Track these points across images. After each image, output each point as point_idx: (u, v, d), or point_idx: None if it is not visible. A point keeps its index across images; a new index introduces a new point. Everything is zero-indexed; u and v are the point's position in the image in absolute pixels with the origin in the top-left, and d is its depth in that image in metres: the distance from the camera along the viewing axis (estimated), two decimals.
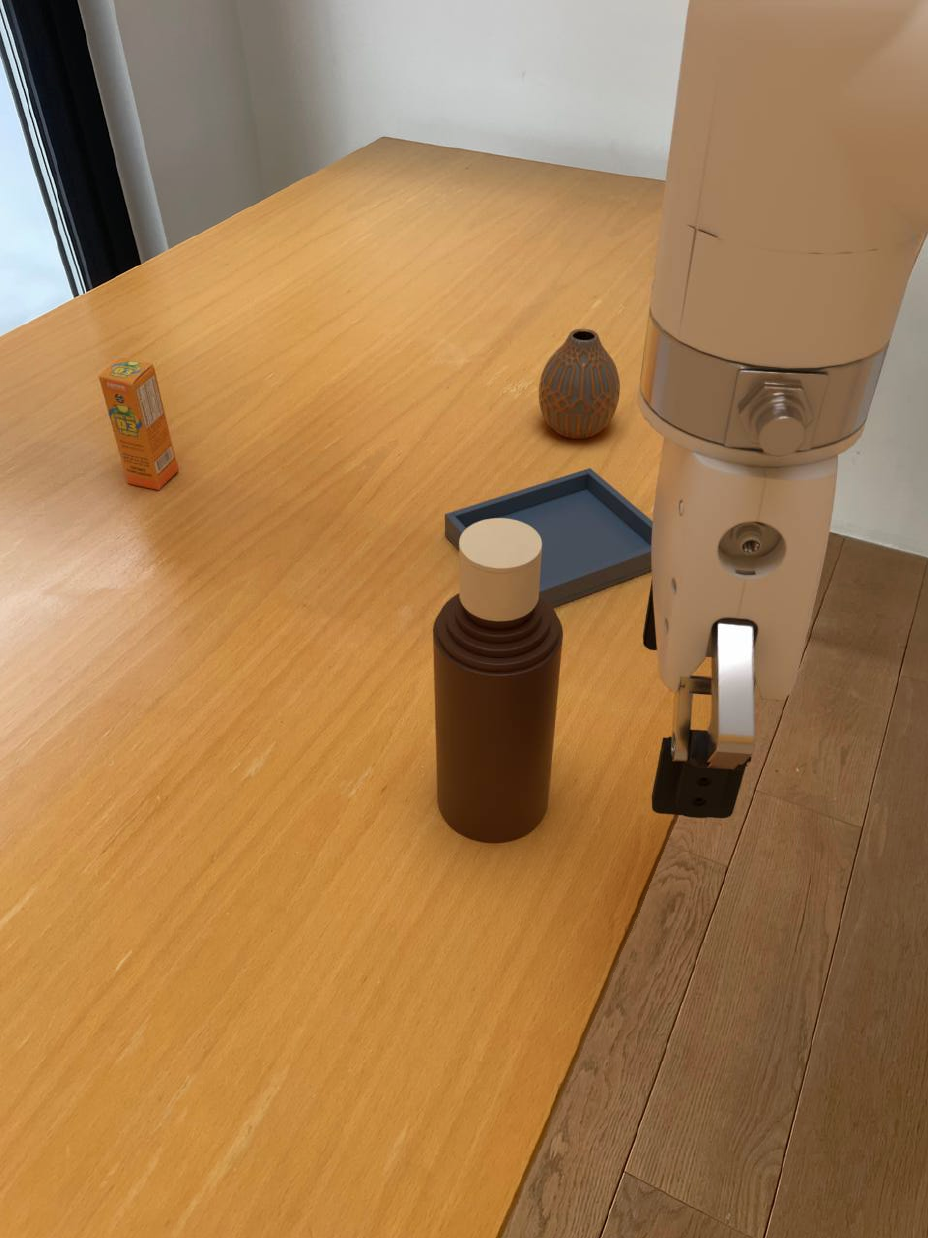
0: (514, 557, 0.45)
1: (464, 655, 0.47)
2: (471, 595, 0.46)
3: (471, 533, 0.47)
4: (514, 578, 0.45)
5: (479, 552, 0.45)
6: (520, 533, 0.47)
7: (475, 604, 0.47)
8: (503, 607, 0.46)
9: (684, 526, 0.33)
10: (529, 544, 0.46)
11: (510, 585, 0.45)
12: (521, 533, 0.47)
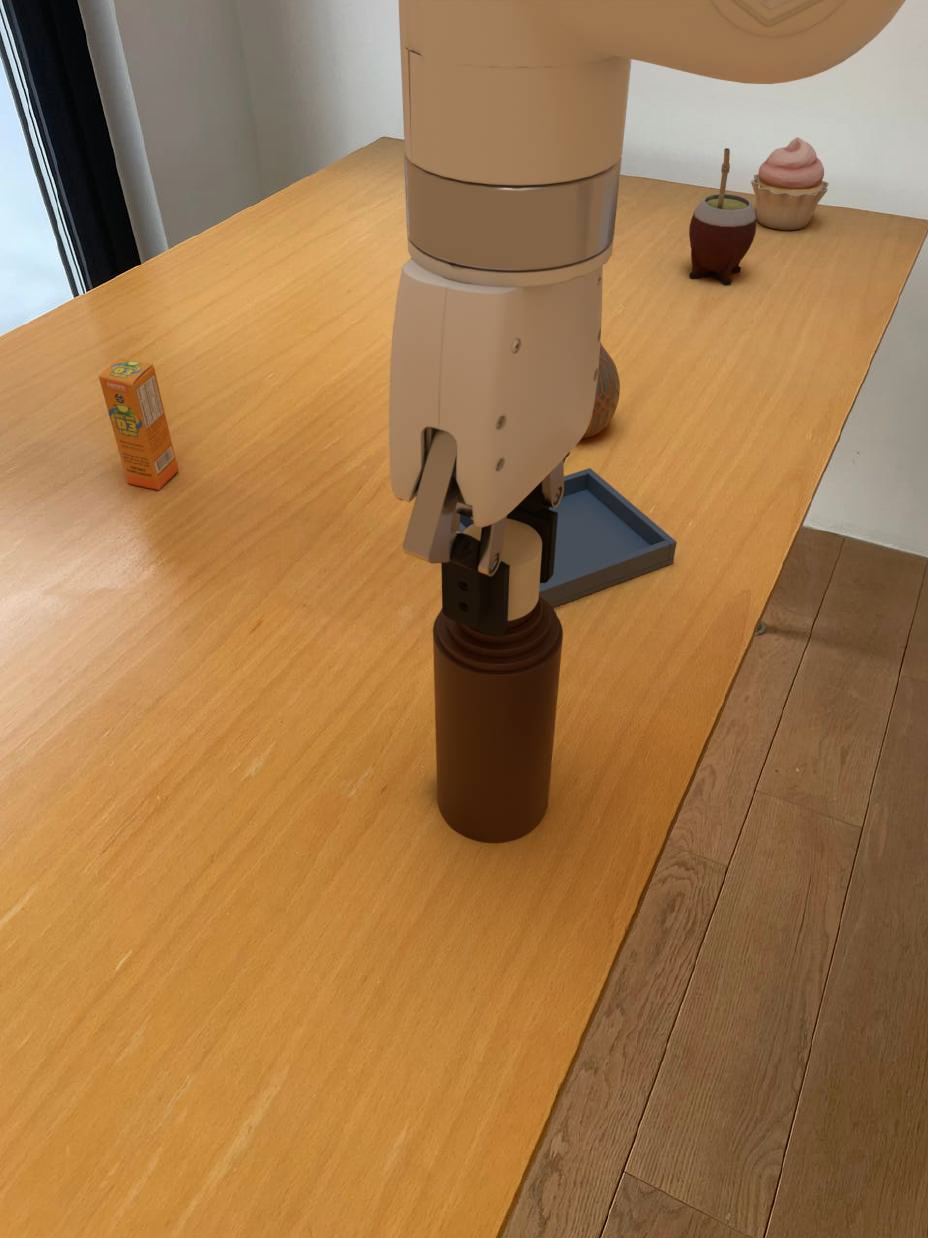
0: (514, 557, 0.45)
1: (464, 655, 0.47)
2: None
3: (471, 533, 0.47)
4: (514, 578, 0.45)
5: None
6: (520, 533, 0.47)
7: None
8: None
9: (601, 281, 0.40)
10: (529, 544, 0.46)
11: (510, 585, 0.45)
12: (521, 533, 0.47)
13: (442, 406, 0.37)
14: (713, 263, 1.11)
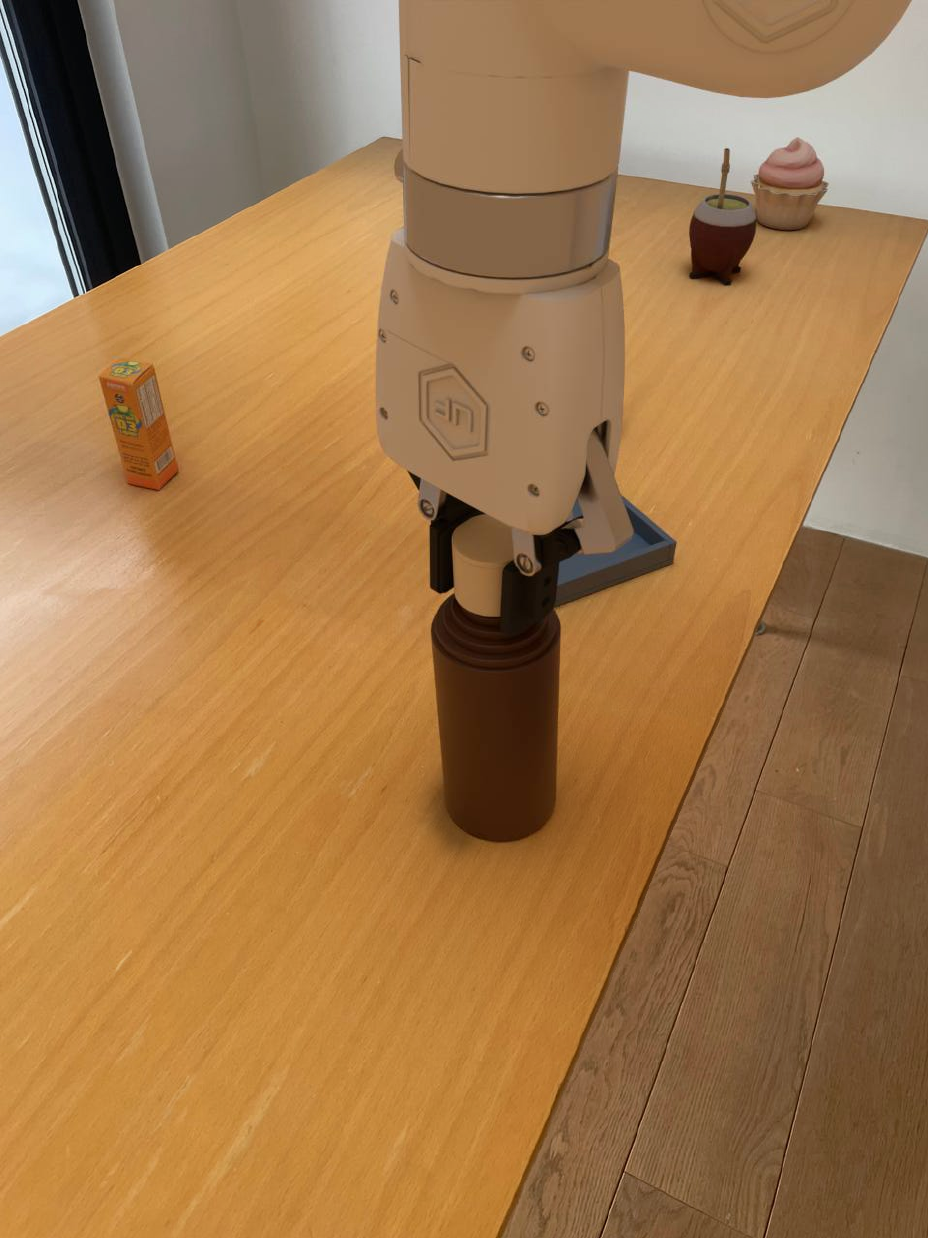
0: None
1: (461, 653, 0.48)
2: None
3: (472, 553, 0.45)
4: None
5: (506, 551, 0.45)
6: (482, 524, 0.47)
7: None
8: None
9: None
10: None
11: None
12: (483, 523, 0.47)
13: (604, 399, 0.38)
14: (713, 263, 1.11)
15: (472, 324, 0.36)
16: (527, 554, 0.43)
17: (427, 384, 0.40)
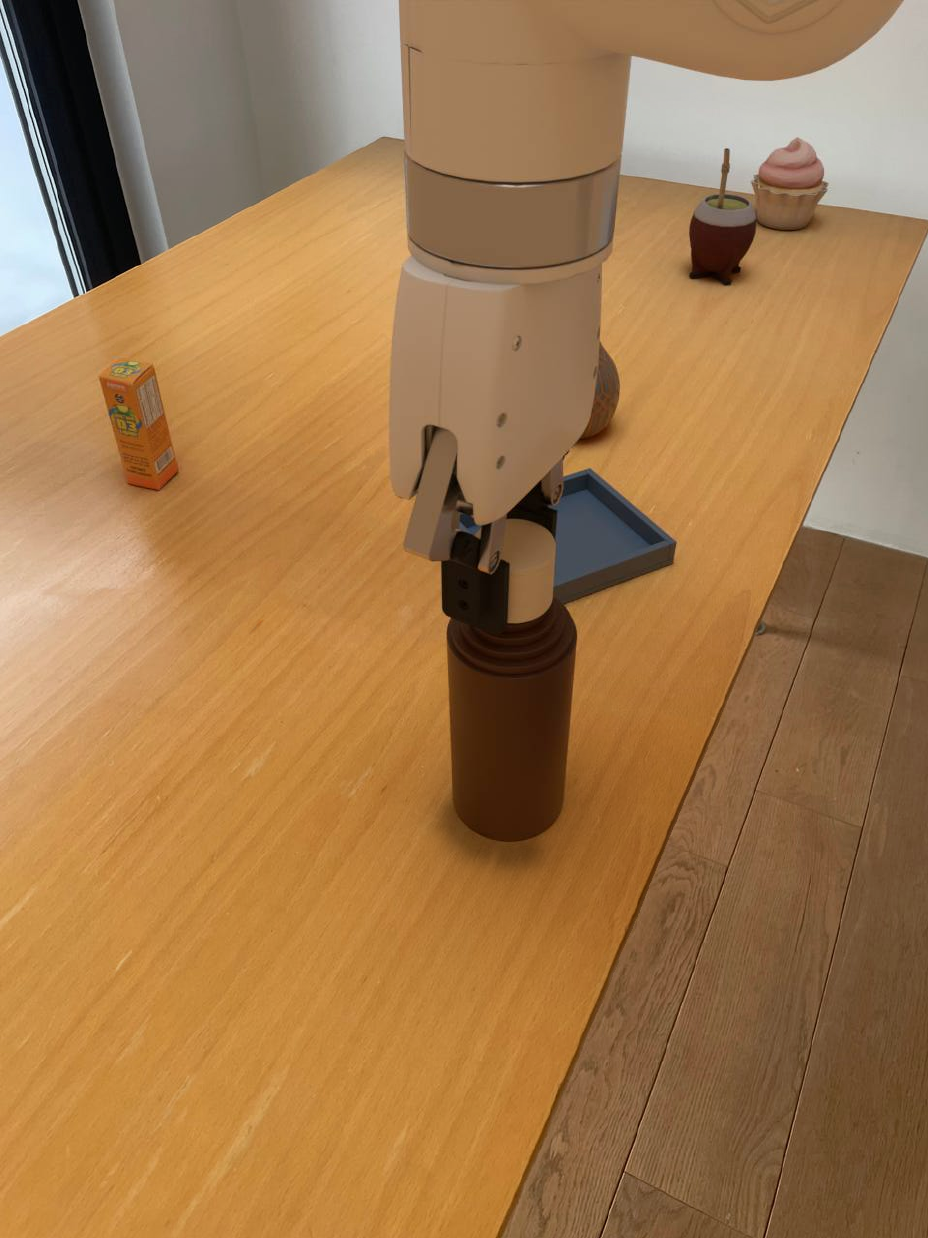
0: (540, 538, 0.46)
1: (478, 659, 0.47)
2: (536, 600, 0.46)
3: None
4: None
5: (527, 559, 0.45)
6: None
7: (540, 605, 0.46)
8: None
9: (600, 279, 0.40)
10: (522, 526, 0.47)
11: (554, 560, 0.46)
12: None
13: (443, 404, 0.37)
14: (713, 263, 1.11)
15: None
16: None
17: None
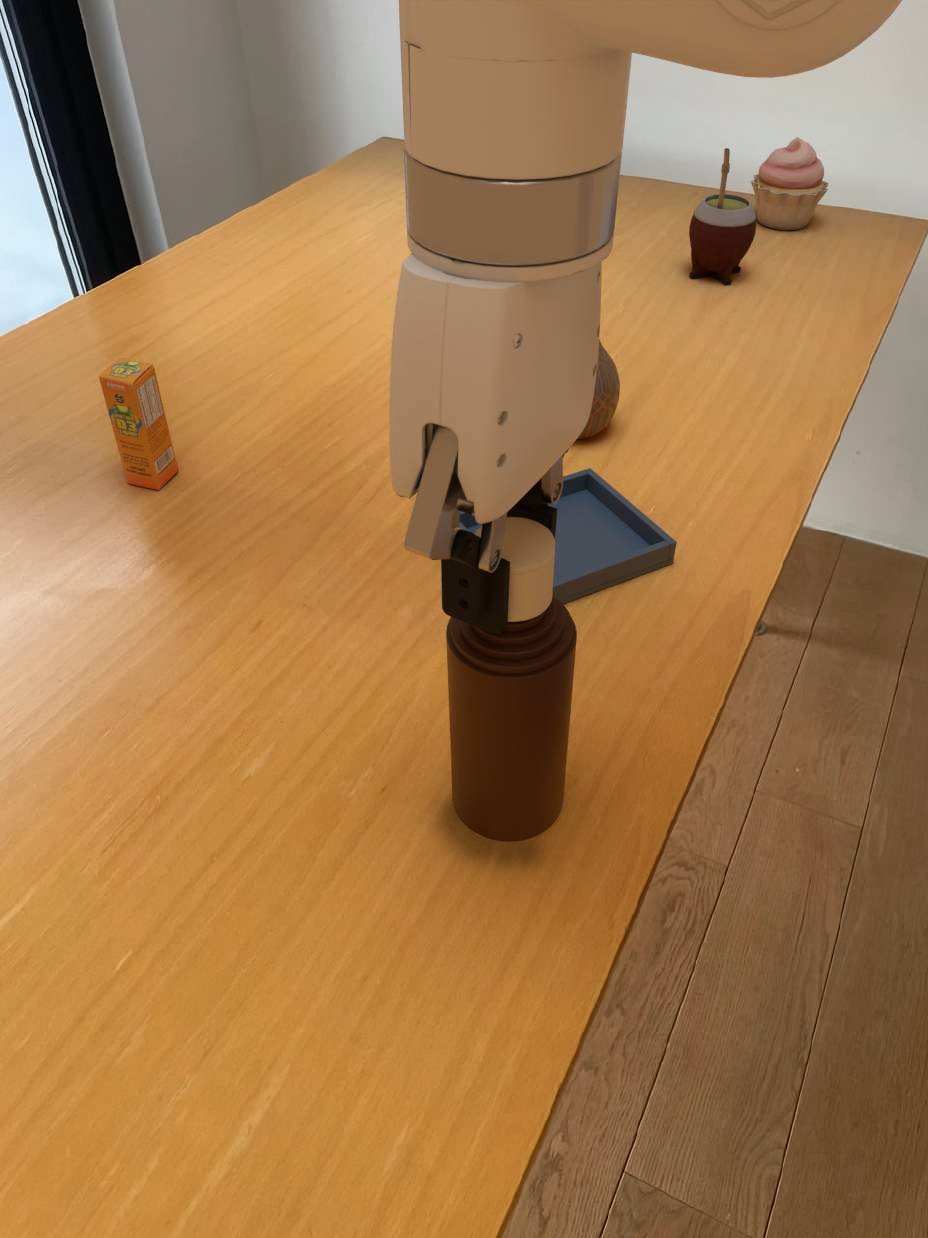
0: (510, 524, 0.47)
1: (478, 658, 0.47)
2: None
3: (535, 558, 0.45)
4: None
5: (539, 537, 0.46)
6: None
7: None
8: None
9: (600, 276, 0.40)
10: None
11: None
12: None
13: (443, 402, 0.36)
14: (713, 263, 1.11)
15: None
16: None
17: None
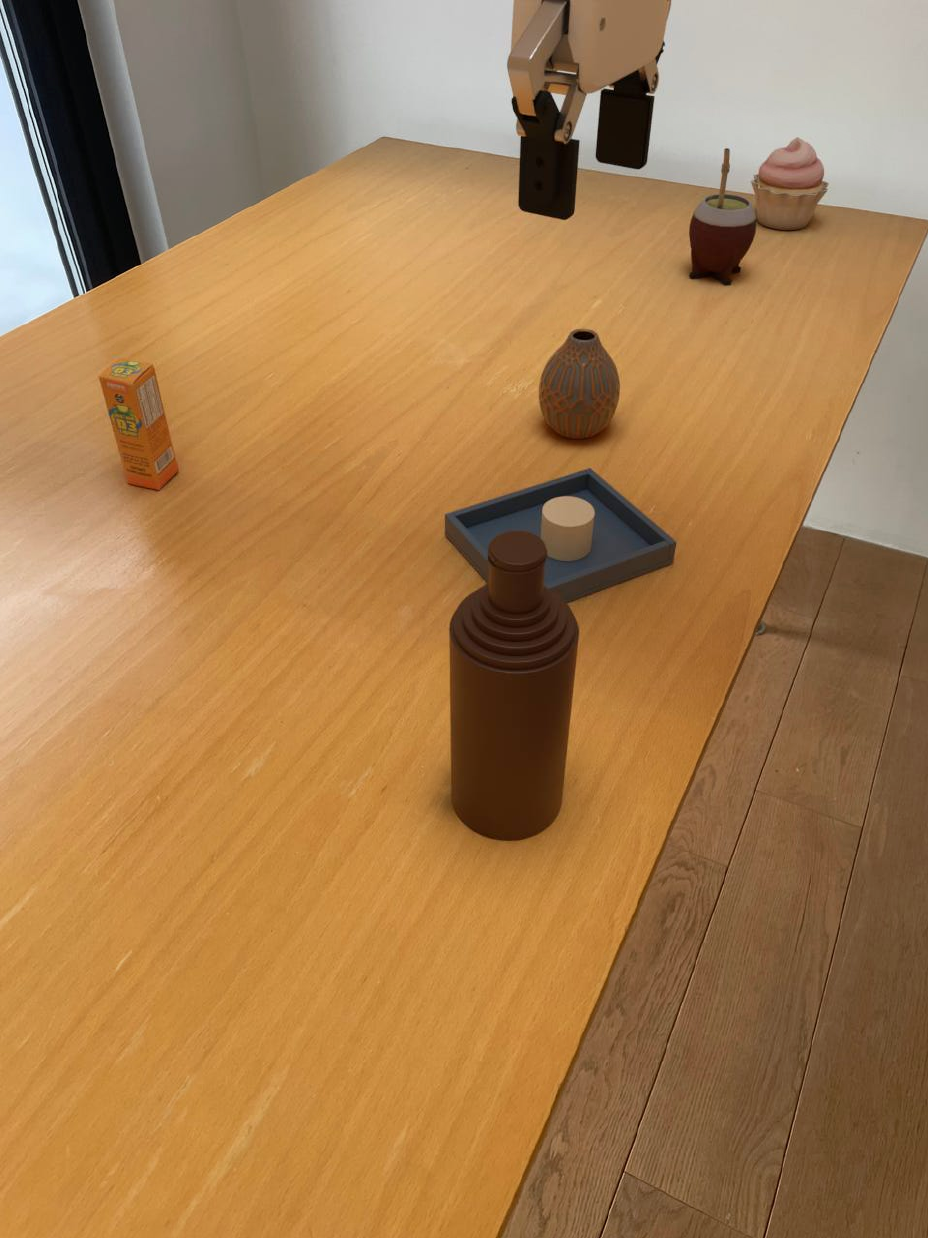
0: (584, 516, 0.73)
1: (483, 654, 0.48)
2: (561, 548, 0.73)
3: (548, 511, 0.73)
4: (588, 528, 0.73)
5: (563, 520, 0.72)
6: (573, 502, 0.74)
7: (564, 553, 0.73)
8: (582, 549, 0.73)
9: None
10: (584, 506, 0.74)
11: (586, 533, 0.73)
12: (574, 502, 0.74)
13: None
14: (713, 263, 1.11)
15: None
16: None
17: None
